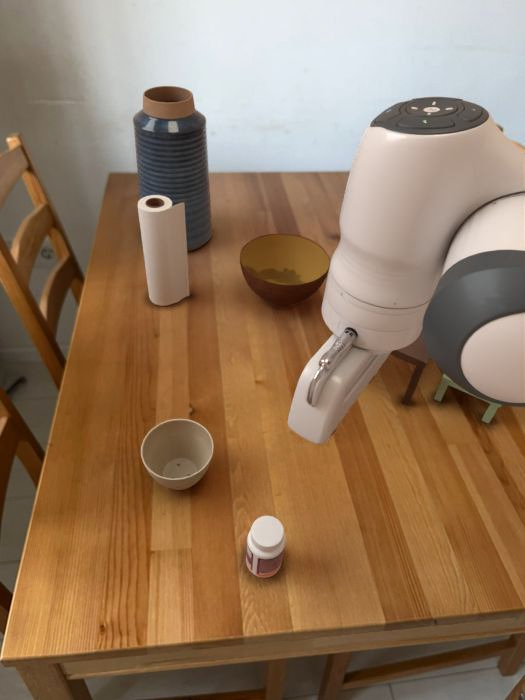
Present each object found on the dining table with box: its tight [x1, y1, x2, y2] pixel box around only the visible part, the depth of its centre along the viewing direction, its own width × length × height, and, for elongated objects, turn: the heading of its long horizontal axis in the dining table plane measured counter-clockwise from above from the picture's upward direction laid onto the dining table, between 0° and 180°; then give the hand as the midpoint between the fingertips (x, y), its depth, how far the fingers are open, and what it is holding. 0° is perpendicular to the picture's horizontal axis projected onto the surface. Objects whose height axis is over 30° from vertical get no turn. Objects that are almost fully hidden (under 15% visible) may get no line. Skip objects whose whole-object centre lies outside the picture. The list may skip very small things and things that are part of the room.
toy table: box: [389, 331, 432, 407], centre depth 92 cm, size 14×18×11 cm
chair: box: [433, 373, 502, 425], centre depth 85 cm, size 10×10×15 cm
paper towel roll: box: [137, 195, 190, 307], centre depth 97 cm, size 7×6×21 cm
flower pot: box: [140, 418, 215, 491], centre depth 73 cm, size 10×10×7 cm
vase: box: [132, 85, 213, 252], centre depth 111 cm, size 16×16×32 cm
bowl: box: [239, 232, 331, 308], centre depth 104 cm, size 18×18×10 cm
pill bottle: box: [245, 515, 286, 579], centre depth 65 cm, size 5×5×8 cm
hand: (345, 404), depth 53 cm, fingers open, 8 cm apart
